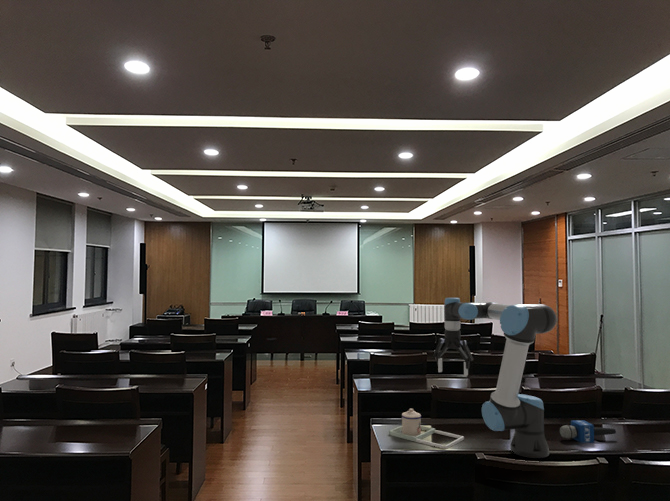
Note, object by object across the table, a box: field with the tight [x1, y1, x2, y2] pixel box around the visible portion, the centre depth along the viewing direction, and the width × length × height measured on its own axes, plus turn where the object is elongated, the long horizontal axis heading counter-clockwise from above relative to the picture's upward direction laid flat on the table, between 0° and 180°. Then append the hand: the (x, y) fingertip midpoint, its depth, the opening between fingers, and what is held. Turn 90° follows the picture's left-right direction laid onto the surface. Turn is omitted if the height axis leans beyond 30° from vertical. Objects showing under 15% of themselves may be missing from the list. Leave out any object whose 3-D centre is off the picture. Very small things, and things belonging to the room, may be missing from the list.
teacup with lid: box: [401, 408, 422, 437], centre depth 228 cm, size 12×9×12 cm
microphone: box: [559, 419, 617, 444], centre depth 220 cm, size 8×8×25 cm
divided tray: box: [388, 424, 465, 450], centre depth 223 cm, size 29×17×2 cm, turn 49°
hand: (452, 373), depth 235 cm, fingers open, 13 cm apart
